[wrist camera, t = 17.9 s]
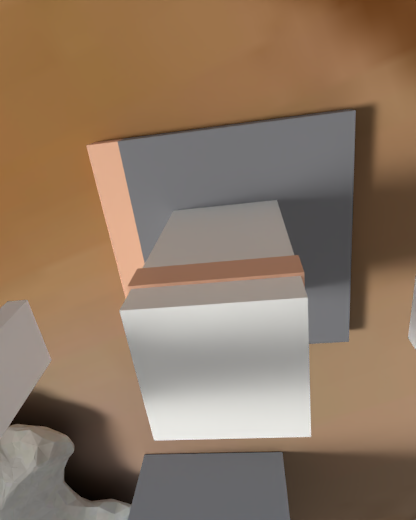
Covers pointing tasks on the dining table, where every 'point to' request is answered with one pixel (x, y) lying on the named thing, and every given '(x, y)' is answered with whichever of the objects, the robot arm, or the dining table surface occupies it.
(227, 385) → the cartridge
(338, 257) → the mat
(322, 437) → the dining table surface
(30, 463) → the rock
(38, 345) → the robot arm
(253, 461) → the box
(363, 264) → the dining table surface
